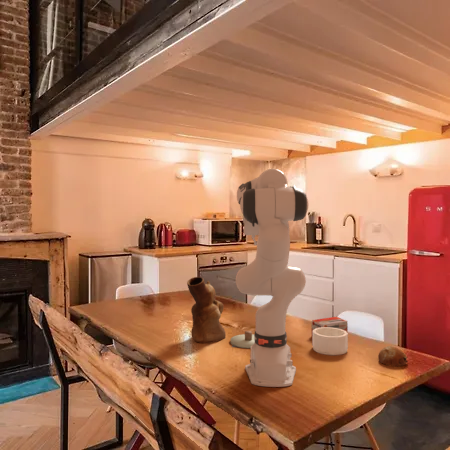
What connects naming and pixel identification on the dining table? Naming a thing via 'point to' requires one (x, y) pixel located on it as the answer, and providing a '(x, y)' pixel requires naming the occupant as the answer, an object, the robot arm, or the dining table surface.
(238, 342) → the lid
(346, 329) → the medicine box
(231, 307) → the dining table surface
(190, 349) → the dining table surface
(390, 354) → the brown rounded lump
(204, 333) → the ceramic vessel
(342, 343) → the bowl
